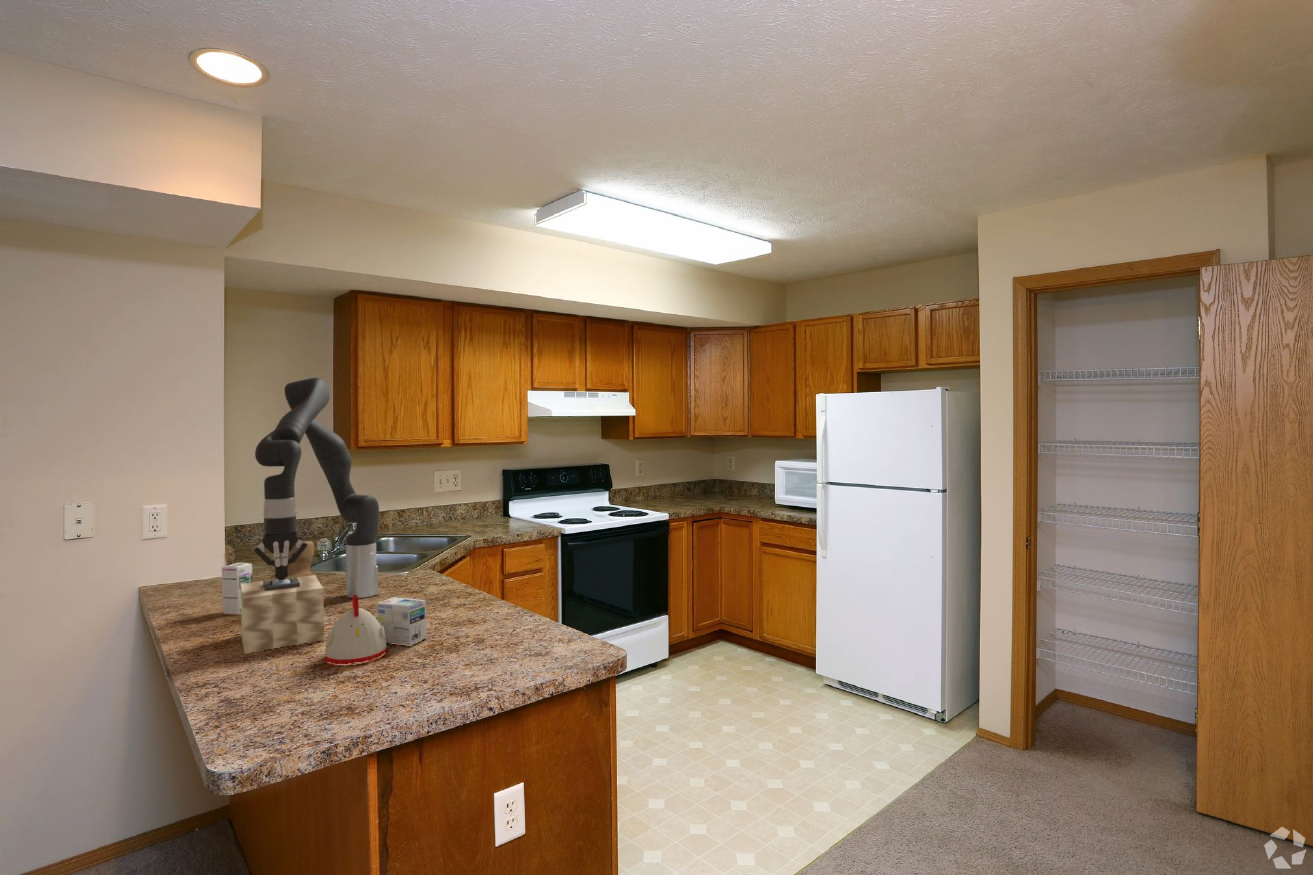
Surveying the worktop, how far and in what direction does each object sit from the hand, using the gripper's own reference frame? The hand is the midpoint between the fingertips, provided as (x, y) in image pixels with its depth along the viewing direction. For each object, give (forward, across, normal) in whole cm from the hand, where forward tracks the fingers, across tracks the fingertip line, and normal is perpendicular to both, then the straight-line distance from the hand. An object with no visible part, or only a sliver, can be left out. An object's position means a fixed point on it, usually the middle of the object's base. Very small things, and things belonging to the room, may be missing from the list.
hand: (281, 579), depth 181 cm
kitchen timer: (+16, -14, +26) cm, 33 cm away
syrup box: (+16, +9, -36) cm, 40 cm away
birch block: (+16, 0, 0) cm, 16 cm away
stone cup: (+16, -9, -70) cm, 72 cm away
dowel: (+12, 0, 0) cm, 12 cm away
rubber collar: (+2, 0, 0) cm, 2 cm away
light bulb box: (+16, -26, +21) cm, 37 cm away
